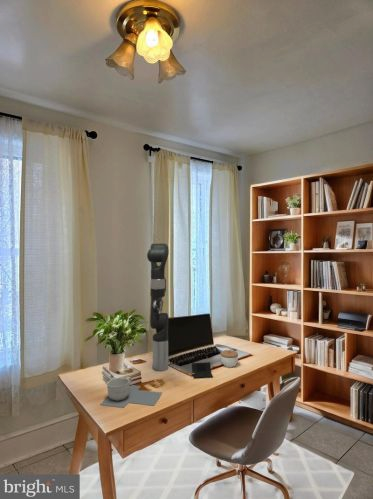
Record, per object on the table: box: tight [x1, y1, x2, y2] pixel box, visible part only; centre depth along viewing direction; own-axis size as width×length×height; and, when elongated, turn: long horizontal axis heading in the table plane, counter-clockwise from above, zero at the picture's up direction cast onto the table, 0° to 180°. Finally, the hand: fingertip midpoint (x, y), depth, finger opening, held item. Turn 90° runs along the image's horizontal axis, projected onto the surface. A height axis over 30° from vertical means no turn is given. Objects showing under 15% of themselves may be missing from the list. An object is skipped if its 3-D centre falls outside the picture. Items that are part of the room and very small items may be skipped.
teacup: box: [106, 376, 132, 401], centre depth 155 cm, size 14×11×8 cm
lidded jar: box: [220, 349, 239, 368], centre depth 194 cm, size 11×11×9 cm
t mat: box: [99, 384, 163, 409], centre depth 155 cm, size 22×25×1 cm
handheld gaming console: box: [191, 362, 214, 380], centre depth 180 cm, size 12×7×10 cm
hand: (157, 320), depth 164 cm, fingers closed
